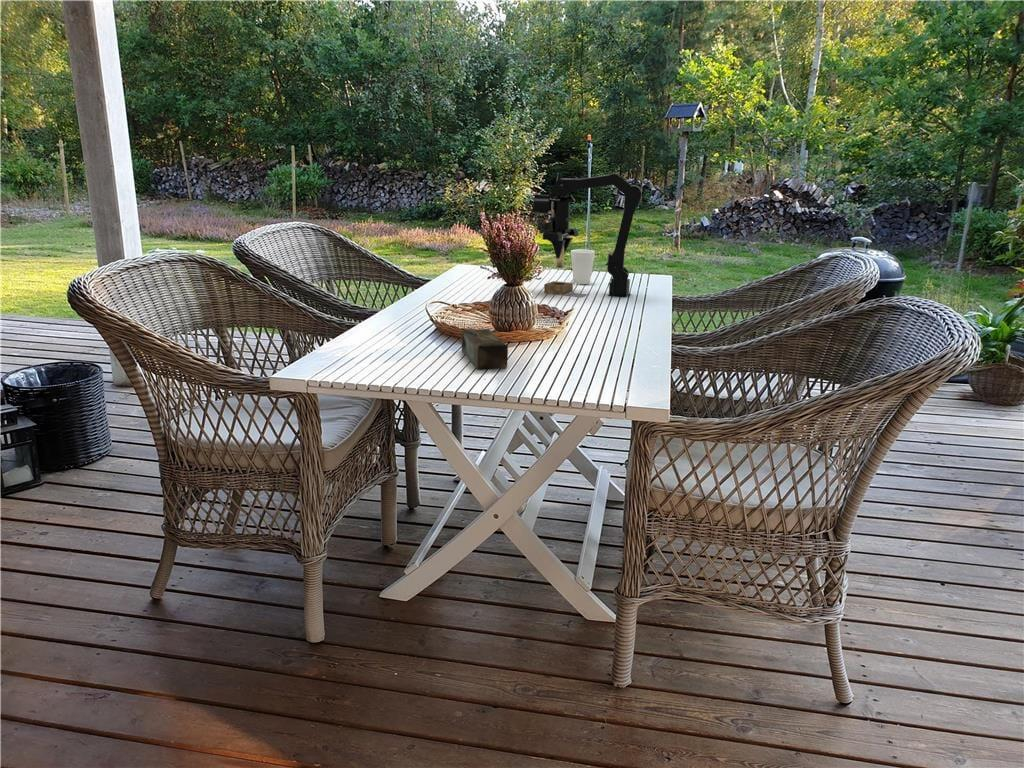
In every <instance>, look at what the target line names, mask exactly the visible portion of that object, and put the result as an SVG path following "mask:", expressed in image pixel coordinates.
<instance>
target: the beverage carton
mask: <svg viewBox="0 0 1024 768" xmlns="http://www.w3.org/2000/svg"><path fill="white" fill-rule="evenodd" d="M461 352H462V353H463V354H464V355H465V356H466V357H467V359H468V360H469V361H470V362H471V363H472V365H474V367H475V368H476V369H477V370H479V371H480V370H497V369H500V370H501V369H507V368H508V360H509V359H508V357H509V355H508V354H509V347H508V345H507V344H506V343H505V342H503V340H501V339H500V337H498V336H497V335H495V334H494V333H493V332H492V331H491V330H490V329H489V328H487V329H486V328H484V329H482V328H480V329H478V328H477V329H474V328H473V327H472V328H471V327H469V328H467V329H463V330H461Z"/></svg>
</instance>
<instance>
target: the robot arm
mask: <svg viewBox="0 0 1024 768" xmlns="http://www.w3.org/2000/svg"><path fill="white" fill-rule="evenodd" d="M605 186H613V187H615V188H616V189H617V190H619V192H621V193H622V194H623V195H624V201H623V202H624V205H623V206H624V207H623V214H622V219H621V222H620V227H619V231H618V234H617V237H616V238H617V239H616V242H615V248H614V250H613V252H608V256H607V261H606V264H605V266H607V272H608V274H610V276H612V278H610V282H608V283H609V286H608V297H616V298H617V297H618V298H627V297H630V296H631V294H632V293H630V284H631V283H630V282H631V278H629V275H630V272H629V270H628V269H627V268H626V267H625V254H626V253H625V251H626V247H627V243H628V238H629V233H630V231H631V227H632V226H631V225H632V223H633V218H634V214H635V213H636V209H637V208H638V205H639V202H640V201H641V198H642V192H643V191H642V189H641V188H640V186H638V185H636V184H635V185H634V184H631V183H629V181H627V180H626V179H624V178H623V177H622V176H621V175H620V174H618V173H616V172H612V173H611V174H610V173H609V174H604V175H596V176H591V177H584V178H571V177H570V178H569V177H566V178H565V177H563V178H559V179H557V180H556V181H555V182H554V185H553V188H552V191H551V192H549V194H538V193H535V194H534V198H533V204H532V213H533V214H542V215H544V214H545V215H549V214H550V212H553V216H552V217H550V221H548V222H547V221H546V222H545V221H544V220H542V221H539V222H537V225H536V227H537V228H536V230H537V231H539V234H540V235H541V234H542V240H544V241H548V242H550V244H552V247H553V250H554V254H555V259H556V258H560V255H561V252H562V249H563V246H564V255H565V254H566V252H567V250H568V249H569V246H570V245H571V244H572V243H571V242H572V241H573V240H574V238H573V237H578V236H579V230H578V229H577V228H576V227H575V228H573V227H570V221H572V217H570V209H571V207H570V206H571V203H575V202H576V199H575V198H574V197H573V195H572V193H575V192H578V191H580V190H585V189H592V188H601V187H605ZM569 194H570V195H569ZM566 195H569V196H566ZM558 196H560V198H559V199H556V198H557V197H558ZM571 236H573V237H571Z"/></svg>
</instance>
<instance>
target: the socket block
mask: <svg viewBox="0 0 1024 768" xmlns="http://www.w3.org/2000/svg"><path fill="white" fill-rule="evenodd" d="M543 286H544V287H543V290H544V291H543V292H544V294H549V295H550V294H552V295H558V296H564V295H567V294H569V293H574V291H573V290H574V289H573V288H574V282H567V281H566V282H565V281H557V280H556V281H555V280H553V281H550V282H547V283H545V284H544V285H543Z"/></svg>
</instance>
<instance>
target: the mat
mask: <svg viewBox="0 0 1024 768" xmlns="http://www.w3.org/2000/svg"><path fill="white" fill-rule="evenodd" d="M589 295H590V294H589V293H580V292H579V293H578V292H571V293H568V294H566V295H563V296H564V297H571V298H578V299H579V298H580V299H581V298H584V297H587V296H589Z"/></svg>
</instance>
